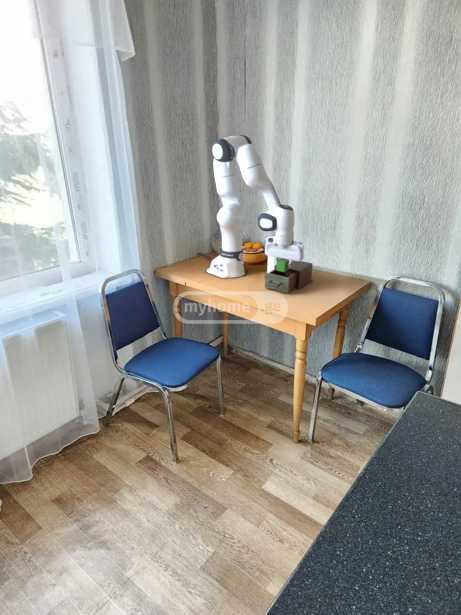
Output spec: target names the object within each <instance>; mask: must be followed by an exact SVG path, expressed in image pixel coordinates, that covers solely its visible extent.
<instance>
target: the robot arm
mask: <svg viewBox="0 0 461 615" xmlns="http://www.w3.org/2000/svg"><path fill="white" fill-rule="evenodd" d="M211 153H212V157H213V175H214V181H215V182H214V183H215V186H216V193H217V195H218V196H219V198H220V200H221V203H222V207H221V208H220V209H219V211H218V212H217V215H216V220H217V223H218V224H219V228H220V233H221V249H219V250H218V253H219V255H218V256H216V257H215V258H213V259H211V258H210V257H209V256H208V255H206V254H205V253H203V252H198V253H197V254H196V255H197V256H198V255H202V256H204V257H206V258H207V259H208V261H210V266H209V267H208V268H207V269H206V273H208V274H211V275H213V276H216V277H218V278H221V279H227V278H228V279H231V278H239V277H243V276H244V275H246V271H245V267H244V259H243V258H244V248H243V233H242V231H241V225H240V224H241V221H242V220H243V219H244V218H245V216H246V212H247V208H246V205H245V204H244V202H243V199H242V196H241V193H240V189H239V185H238V179H237V178H238V177H237V171H236V167H235V166H236V165H235V164H236V163H237V165H238V167H239V170H240V174H241V177H242V179H243V181H244V183H245V185H246V186H247V187H249V188H252V189H255V190H257V191H259V192H260V193H261V195H262V196H263V198H264V200H265V203H266V205H267V208H268V210H266V211H263V212H262V213H260V214H259V215H258V217H257V226H258V228H259V229H260V230H261V231H263V232H274V233H275V234H274V235H270V236H268V237H266V239H265V240H266V242H265V245H264V254H265V256H267V257H268V256H272V257H275V258H274V259H275V261H276V265H277V261H278V258H283V259H288V260H289V264H287V268H290V267H291V264H292V262H293V260H294V261H303V260H304V257H305V256H304V255H305V254H304V252H305V251H304V250H305V249H304V248H305V245H304V243H302V242H301V241H296V240H295V231H294V227H295V210H294V207H292V206H290V205H289V204H281V201H280V199H279V197H278V194H277V192H276V190H275V187H274V184H273V183H272V181H271V179H270V178H269V176H268V174H267V171H266V169H265V166H264V163H263V161H262V158H261V155H260V153H259V151H258V149H257V147H256V146H255V145H254V144H253V142H252V140H251V139H250V137H248V136H247V135H244V134H239V135H230V136H226V137H224V138H219V139H217V140H215V141H214V142H213V143H212V146H211Z"/></svg>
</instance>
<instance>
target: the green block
mask: <svg viewBox="0 0 461 615" xmlns="http://www.w3.org/2000/svg"><path fill="white" fill-rule="evenodd" d="M287 264H289V260H288V259H283V258H282V259H280V260H278V261H277V271H281V272H286V271H287V270H289V269H290V268H287Z"/></svg>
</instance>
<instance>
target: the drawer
mask: <svg viewBox="0 0 461 615" xmlns="http://www.w3.org/2000/svg"><path fill="white" fill-rule="evenodd" d="M297 285H298V272H296V271H291V270H287V271H286V272H281V271H277V268H276V269H274V270H272V271H271V272H269V273H267V272H264V288H266V289H270V290H274V291H278V292H282V293H286V294H289V293H290V291H291V290H293V289H295V288H294V287H296V286H297Z"/></svg>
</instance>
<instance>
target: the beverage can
mask: <svg viewBox="0 0 461 615" xmlns="http://www.w3.org/2000/svg"><path fill="white" fill-rule="evenodd" d="M274 258H275V257H272V256H267V271H266V273H269V272H271V271H272V270H274V269H275V265H276V261H275V259H274ZM280 259H282V258H278V260H280Z"/></svg>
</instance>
